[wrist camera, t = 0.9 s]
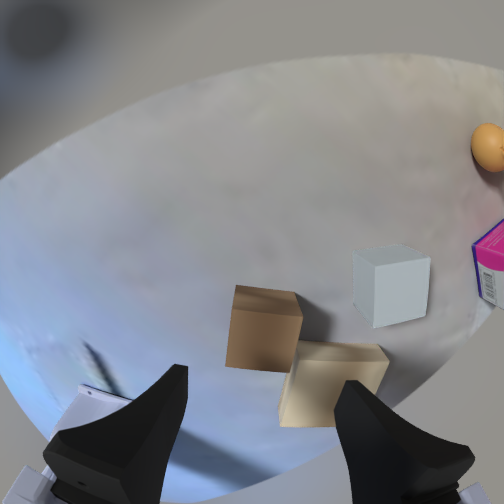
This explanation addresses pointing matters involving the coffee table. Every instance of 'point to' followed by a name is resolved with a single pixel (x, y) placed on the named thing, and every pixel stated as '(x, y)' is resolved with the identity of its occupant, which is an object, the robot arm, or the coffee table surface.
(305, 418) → the beech slab
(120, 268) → the coffee table surface
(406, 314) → the grey cube
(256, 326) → the walnut cube
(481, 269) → the supplement box
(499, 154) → the figurine
